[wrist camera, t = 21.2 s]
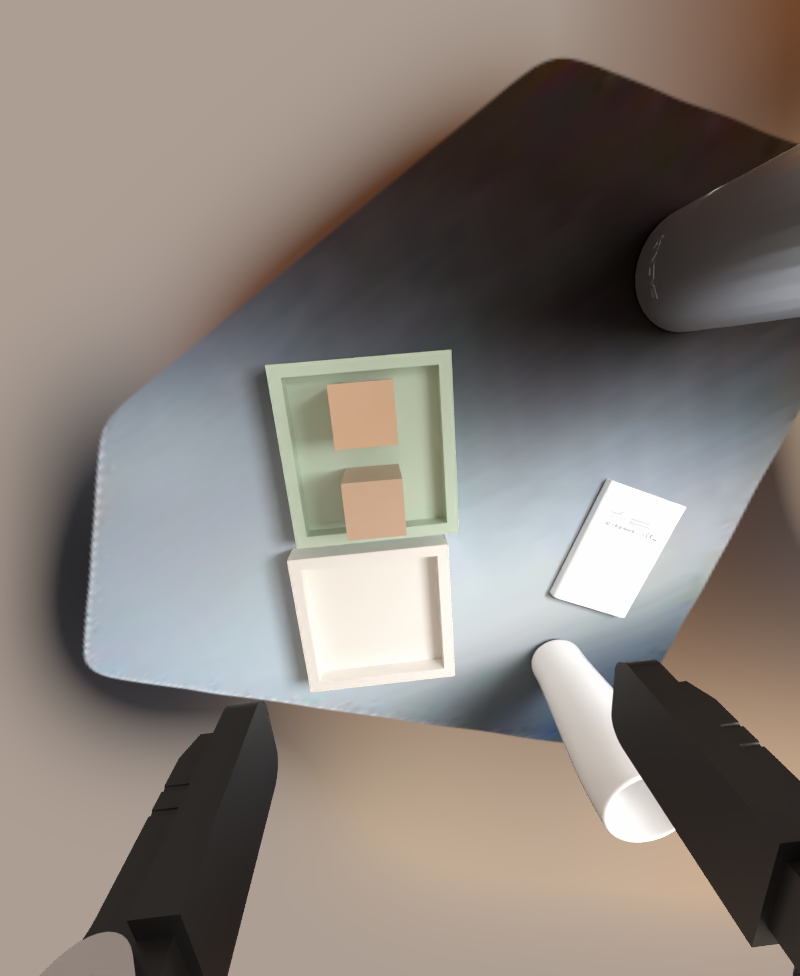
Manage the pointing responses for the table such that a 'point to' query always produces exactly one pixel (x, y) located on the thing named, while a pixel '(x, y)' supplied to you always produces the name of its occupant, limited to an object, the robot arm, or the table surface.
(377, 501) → the tan block
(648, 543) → the external hard drive
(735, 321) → the robot arm
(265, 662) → the table surface
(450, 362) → the tray
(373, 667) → the tray
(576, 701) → the drinking glass
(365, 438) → the tan boxy piece
